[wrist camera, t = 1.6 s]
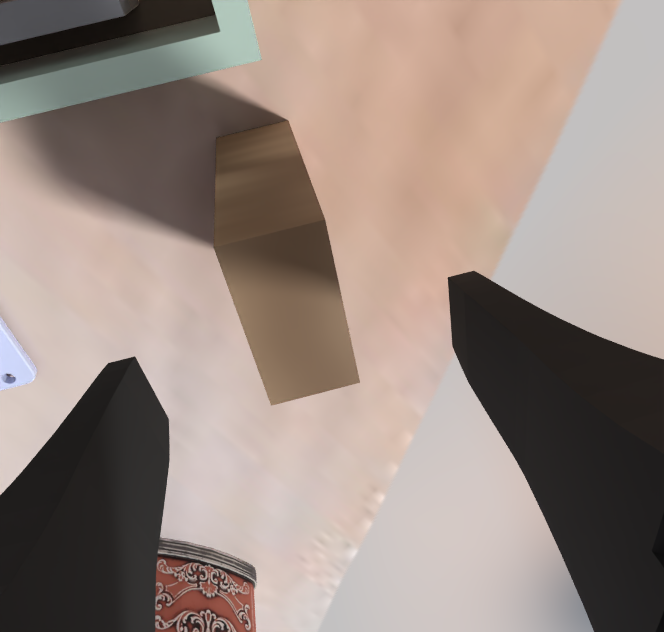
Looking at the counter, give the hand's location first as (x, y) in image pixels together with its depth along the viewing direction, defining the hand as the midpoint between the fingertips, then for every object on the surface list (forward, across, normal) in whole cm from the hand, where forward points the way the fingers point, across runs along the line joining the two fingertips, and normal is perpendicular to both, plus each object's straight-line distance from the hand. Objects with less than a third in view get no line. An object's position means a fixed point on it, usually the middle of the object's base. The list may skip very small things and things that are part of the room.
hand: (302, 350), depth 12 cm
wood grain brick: (+9, 0, 0) cm, 9 cm away
